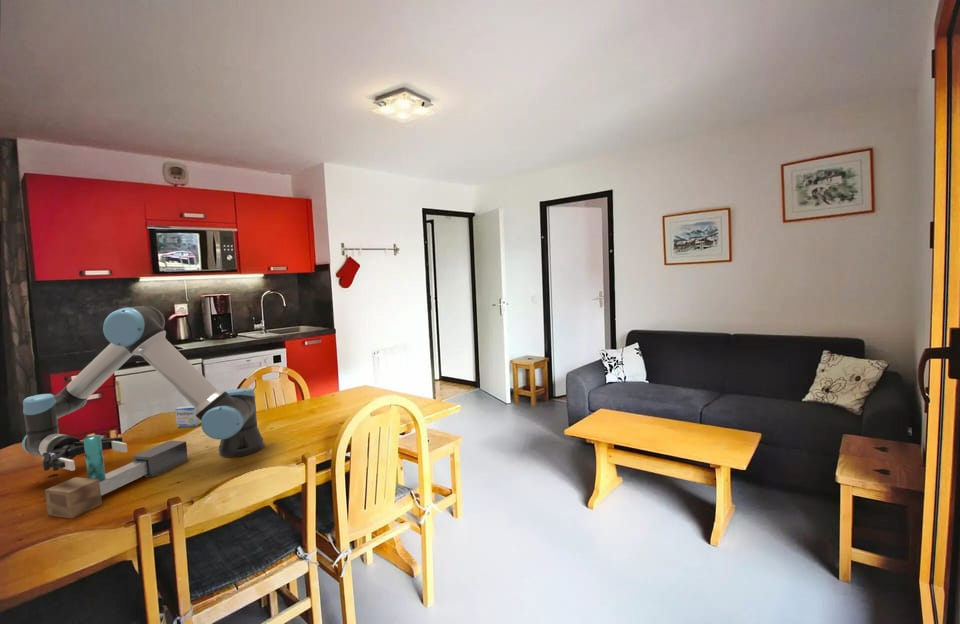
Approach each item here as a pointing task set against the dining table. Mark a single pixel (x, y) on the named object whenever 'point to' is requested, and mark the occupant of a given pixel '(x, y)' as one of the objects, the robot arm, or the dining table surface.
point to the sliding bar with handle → (114, 477)
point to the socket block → (73, 497)
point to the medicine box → (186, 417)
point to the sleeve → (163, 456)
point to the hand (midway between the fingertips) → (100, 456)
